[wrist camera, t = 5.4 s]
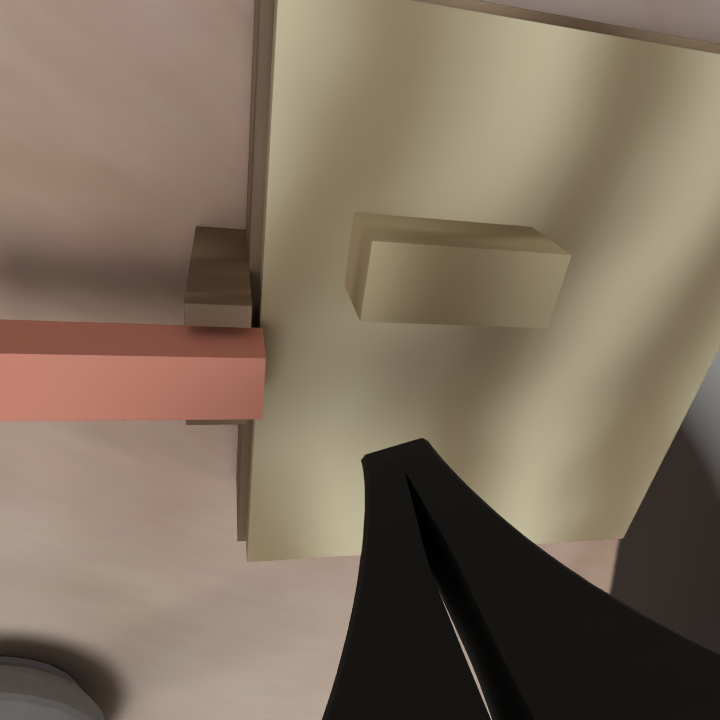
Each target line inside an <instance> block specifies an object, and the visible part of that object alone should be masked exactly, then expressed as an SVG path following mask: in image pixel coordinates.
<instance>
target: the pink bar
mask: <svg viewBox="0 0 720 720" xmlns="http://www.w3.org/2000/svg"><path fill="white" fill-rule="evenodd" d="M265 365H266V355H265V346H264V336H263V328H239V327H207V326H184V325H154V324H122V323H90V322H59V321H27V320H0V421H46V420H228V419H262V413H263V397H264V381H265Z"/></svg>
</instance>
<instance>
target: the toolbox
mask: <svg viewBox="0 0 720 720" xmlns="http://www.w3.org/2000/svg"><path fill="white" fill-rule="evenodd" d="M412 1H418V2H423V3H429V4H435V5H441V6H446V7H452V8H458V9H463V10H469V11H475V12H481V13H486V14H492V15H498V16H503V17H509V18H515V19H521V20H526V21H532V22H538V23H543V24H549V25H555V26H561V27H566V28H572V29H578V30H583V31H589V32H595V33H601V34H606V35H612V36H618V37H623V38H629V39H635V40H641V41H646V42H652V43H658V44H663V45H669V46H675V47H681V48H686V49H692V50H698V51H703V52H709V53H715V54H720V44H716V43H710V42H705V41H699V40H694V39H688V38H683V37H677V36H671V35H666V34H660V33H655V32H649V31H644V30H638V29H633V28H627V27H622V26H616V25H610V24H605V23H599V22H594V21H588V20H583V19H577V18H572V17H566V16H560V15H555V14H549V13H544V12H538V11H533V10H527V9H522V8H516V7H511V6H505V5H499V4H494V3H488V2H483V1H477V0H412ZM274 6H275V0H255V6H254V32H253V58H252V85H251V111H250V137H249V163H248V189H247V215H246V230H235V229H220V228H206V227H196V230H195V236H194V243H193V249H192V256H191V262H190V268H189V275H188V281H187V288H186V294H185V301H184V326H207V327H239V328H257V327H258V308H259V289H260V270H261V251H262V232H263V213H264V195H265V176H266V157H267V138H268V119H269V100H270V81H271V62H272V43H273V24H274ZM252 421H253V419H228V420H186V425H219V424H238V451H237V477H236V479H237V538H238V541H246V535H247V516H248V497H249V478H250V459H251V440H252Z"/></svg>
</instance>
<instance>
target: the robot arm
mask: <svg viewBox="0 0 720 720" xmlns="http://www.w3.org/2000/svg"><path fill="white" fill-rule="evenodd" d="M361 463H362V467H363V474H364V486H365V512H364V528H363V542H362V551H361V558H360V566H359V573H358V581H357V587H356V592H355V598H354V603H353V608H352V613H351V618H350V622H349V627H348V631H347V636H346V640H345V643H344V647H343V651H342V655H341V659H340V663H339V667H338V670H337V674H336V677H335V681H334V684H333V688H332V691H331V694H330V697H329V700H328V703H327V706H326V709H325V712H324V715H323V718H322V720H491V718H490V716H489V714H488V711H487V709H486V707H485V704H484V702H483V699H482V697H481V695H480V692H479V690H478V687H477V685H476V682H475V680H474V678H473V675H472V673H471V670H470V668H469V665H468V663H467V661H466V658H465V656H464V653H463V651H462V648H461V646H460V643H459V641H458V638H457V636H456V633H455V631H454V628H453V626H452V623H451V621H450V618H449V616H448V613H447V611H446V608H447V610H448V612H449V614H450V617H451V619H452V621H453V623H454V625H455V628H456V630H457V632H458V634H459V636H460V639H461V641H462V643H463V645H464V647H465V650H466V652H467V654H468V656H469V659H470V661H471V663H472V666H473V668H474V671H475V673H476V676H477V678H478V681H479V683H480V686H481V689H482V692H483V695H484V698H485V700H486V703H487V706H488V709H489V712H490V714H491V717H492V720H720V654H718V653H716V652H714V651H711V650H710V649H707V648H705V647H703V646H701V645H699V644H697V643H695V642H693V641H691V640H689V639H687V638H685V637H684V636H682V635H680V634H678V633H676V632H674V631H672V630H671V629H669V628H667V627H665V626H663V625H661V624H659V623H657V622H656V621H654V620H652V619H650V618H648V617H646V616H645V615H643V614H641V613H640V612H638V611H636V610H635V609H633V608H631V607H630V606H628V605H626V604H625V603H623V602H621V601H619V600H618V599H616V598H614V597H613V596H611V595H609V594H608V593H606V592H604V591H603V590H601V589H599V588H598V587H596V586H594V585H593V584H591V583H590V582H588V581H587V580H585V579H584V578H582V577H581V576H579V575H578V574H576V573H575V572H573V571H572V570H570V569H569V568H567V567H566V566H565V565H563V564H562V563H560V562H559V561H558V560H556V559H555V558H553V557H552V556H551V555H549V554H548V553H546V552H545V551H544V550H542V549H541V548H540V547H538V546H537V545H536V544H534V543H533V542H532V541H531V540H529V539H528V538H527V537H525V536H524V535H523V534H522V533H521V532H519V531H518V530H517V529H516V528H514V527H513V526H512V525H511V524H510V523H508V522H507V521H506V520H505V519H504V518H503V517H501V516H500V515H499V514H498V513H497V512H496V511H495V510H493V509H492V508H491V507H490V506H489V505H488V504H487V503H486V502H485V501H484V500H483V499H482V498H480V497H479V496H478V495H477V494H476V493H475V492H474V491H473V490H472V489H471V488H470V487H469V486H468V485H467V484H466V483H465V482H464V481H463V480H462V479H461V478H460V477H459V476H458V475H457V474H456V473H455V472H454V471H453V470H452V469H451V468H450V467H449V465H448V464H447V463H446V462H445V461H444V460H443V459H442V458H441V456H440V455H439V454H438V453H437V452H436V450H435V449H434V448H433V447H432V445H431V444H430V443H429V441H428V440H426V439H424V438H419V439H416V440H413V441H409V442H406V443H403V444H399V445H396V446H392V447H389V448H386V449H382V450H379V451H375V452H372V453H369V454H365V455H364V457H363V458H362V459H361ZM439 592H440V593H439ZM440 594H441V595H440ZM441 597H442V598H441ZM442 599H443V600H442ZM443 601H444V603H445V606H446V608H445V606H444V603H443Z"/></svg>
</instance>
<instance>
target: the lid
mask: <svg viewBox="0 0 720 720" xmlns="http://www.w3.org/2000/svg"><path fill="white" fill-rule="evenodd" d="M257 328H263V336H264V346H265V355H266V365H265V381H264V397H263V413H262V419H253V421H252V440H251V459H250V478H249V497H248V516H247V535H246V549H247V562H255V561H271V560H287V559H303V558H319V557H334V556H350V555H361V551H362V542H363V528H364V512H365V486H364V474H363V467H362V463H361V459H362V458H363V457H364V455H365V454H369V453H372V452H375V451H379V450H382V449H386V448H389V447H392V446H396V445H399V444H403V443H406V442H409V441H413V440H416V439H419V438H424V439H426V440H428V441H429V443H430V444H431V445H432V447H433V448H434V449H435V450H436V452H437V453H438V454H439V455H440V456H441V458H442V459H443V460H444V461H445V462H446V463H447V464H448V465H449V467H450V468H451V469H452V470H453V471H454V472H455V473H456V474H457V475H458V476H459V477H460V478H461V479H462V480H463V481H464V482H465V483H466V484H467V485H468V486H469V487H470V488H471V489H472V490H473V491H474V492H475V493H476V494H477V495H478V496H479V497H480V498H482V499H483V500H484V501H485V502H486V503H487V504H488V505H489V506H490V507H491V508H492V509H493V510H495V511H496V512H497V513H498V514H499V515H500V516H501V517H503V518H504V519H505V520H506V521H507V522H508V523H510V524H511V525H512V526H513V527H514V528H516V529H517V530H518V531H519V532H521V533H522V534H523V535H524V536H525V537H527V538H528V539H529V540H531V541H532V542H533V543H534V544H541V543H557V542H572V541H588V540H604V539H620V538H623V537H624V535H625V533H626V531H627V529H628V527H629V525H630V523H631V521H632V519H633V517H634V515H635V513H636V512H637V509H638V508H639V506H640V504H641V502H642V500H643V498H644V496H645V494H646V492H647V490H648V488H649V486H650V484H651V482H652V480H653V478H654V476H655V474H656V472H657V470H658V468H659V466H660V464H661V462H662V460H663V458H664V456H665V454H666V452H667V450H668V448H669V446H670V444H671V442H672V441H673V439H674V436H675V435H676V432H677V431H678V429H679V427H680V425H681V423H682V421H683V419H684V417H685V415H686V413H687V411H688V409H689V407H690V405H691V403H692V401H693V399H694V397H695V395H696V393H697V391H698V389H699V387H700V385H701V383H702V381H703V379H704V377H705V375H706V373H707V372H708V370H709V367H710V366H711V364H712V362H713V360H714V358H715V356H716V354H717V352H718V350H719V348H720V54H715V53H709V52H703V51H698V50H692V49H686V48H681V47H675V46H669V45H663V44H658V43H652V42H646V41H641V40H635V39H629V38H623V37H618V36H612V35H606V34H601V33H595V32H589V31H583V30H578V29H572V28H566V27H561V26H555V25H549V24H543V23H538V22H532V21H526V20H521V19H515V18H509V17H503V16H498V15H492V14H486V13H481V12H475V11H469V10H463V9H458V8H452V7H446V6H441V5H435V4H429V3H423V2H418V1H412V0H275V6H274V24H273V43H272V62H271V81H270V100H269V119H268V138H267V157H266V176H265V195H264V213H263V232H262V251H261V270H260V289H259V308H258V327H257Z"/></svg>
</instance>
